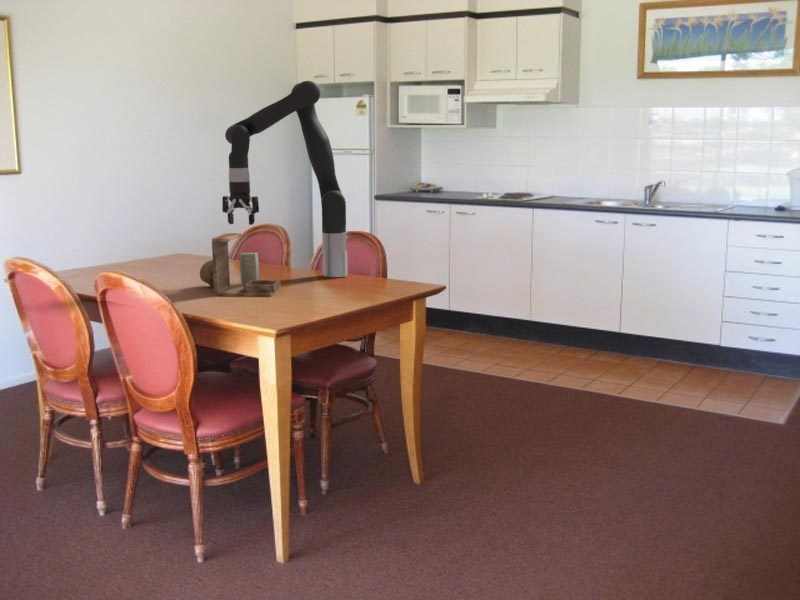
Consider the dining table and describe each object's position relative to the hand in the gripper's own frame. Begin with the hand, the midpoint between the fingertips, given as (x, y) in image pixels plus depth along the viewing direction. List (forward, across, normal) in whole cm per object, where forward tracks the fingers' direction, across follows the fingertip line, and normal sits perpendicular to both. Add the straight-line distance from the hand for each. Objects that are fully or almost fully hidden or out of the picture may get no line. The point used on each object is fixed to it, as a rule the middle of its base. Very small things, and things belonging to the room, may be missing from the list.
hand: (241, 224), depth 329 cm
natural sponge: (+22, +6, +12) cm, 26 cm away
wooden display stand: (+22, -12, +17) cm, 30 cm away
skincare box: (+22, -5, +4) cm, 23 cm away
